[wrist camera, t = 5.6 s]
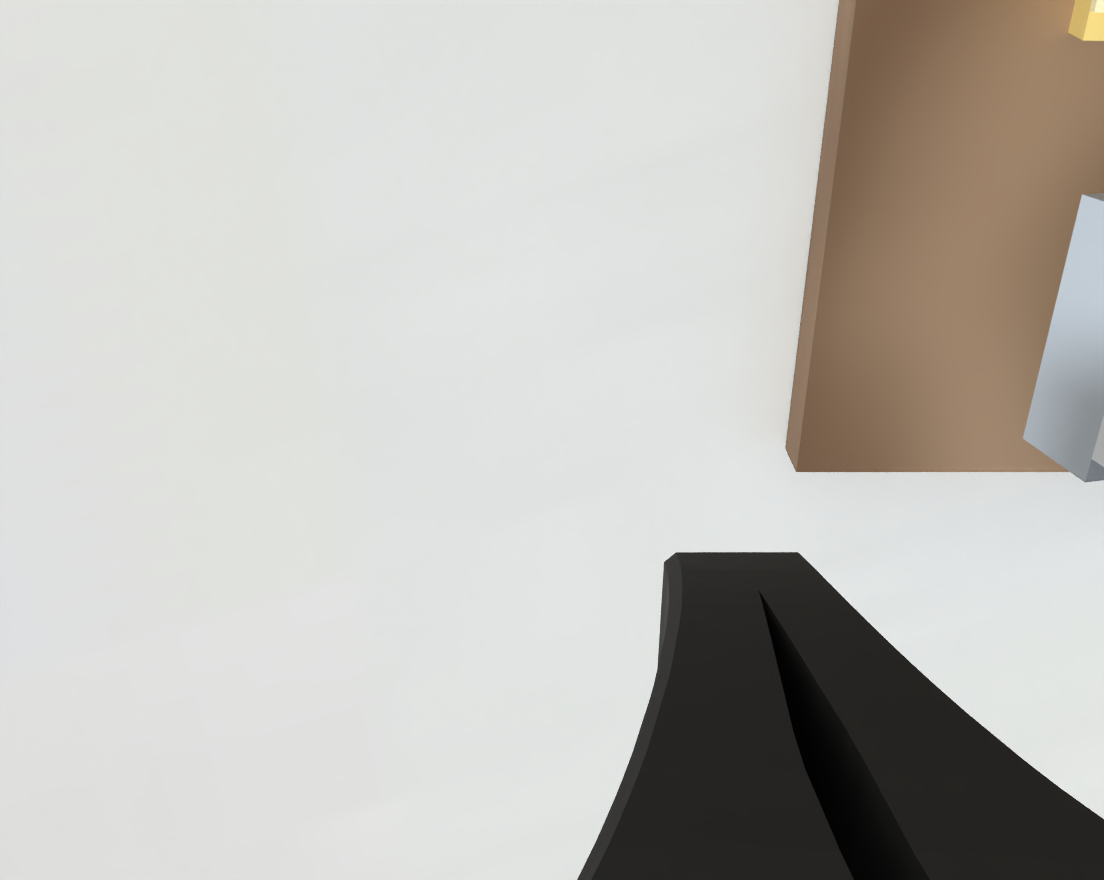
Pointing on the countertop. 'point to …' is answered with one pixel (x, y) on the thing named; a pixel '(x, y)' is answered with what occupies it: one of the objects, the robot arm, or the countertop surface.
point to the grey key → (1075, 356)
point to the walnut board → (941, 232)
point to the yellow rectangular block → (1088, 20)
